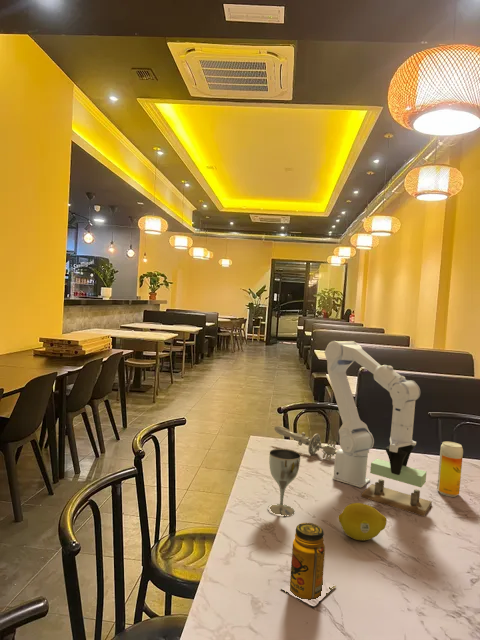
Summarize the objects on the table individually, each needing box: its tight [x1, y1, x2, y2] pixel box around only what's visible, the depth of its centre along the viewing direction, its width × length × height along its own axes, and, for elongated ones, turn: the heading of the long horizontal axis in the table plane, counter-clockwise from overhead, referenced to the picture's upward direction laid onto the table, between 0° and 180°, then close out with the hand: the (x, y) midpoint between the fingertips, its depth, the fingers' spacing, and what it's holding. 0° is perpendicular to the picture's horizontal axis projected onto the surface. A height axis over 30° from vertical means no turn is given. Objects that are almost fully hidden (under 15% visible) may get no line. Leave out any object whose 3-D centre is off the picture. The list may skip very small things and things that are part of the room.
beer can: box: [436, 440, 464, 498], centre depth 133 cm, size 6×6×15 cm
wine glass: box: [268, 448, 301, 517], centre depth 115 cm, size 8×8×15 cm
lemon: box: [337, 502, 387, 541], centre depth 104 cm, size 11×8×8 cm
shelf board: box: [369, 458, 427, 488], centre depth 126 cm, size 14×5×3 cm, turn 54°
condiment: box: [284, 522, 337, 600], centre depth 84 cm, size 7×8×12 cm
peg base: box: [360, 478, 433, 517], centre depth 126 cm, size 17×9×4 cm, turn 55°
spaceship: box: [274, 425, 338, 462], centre depth 160 cm, size 8×35×8 cm
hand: (398, 471), depth 126 cm, fingers closed on shelf board, 5 cm apart
